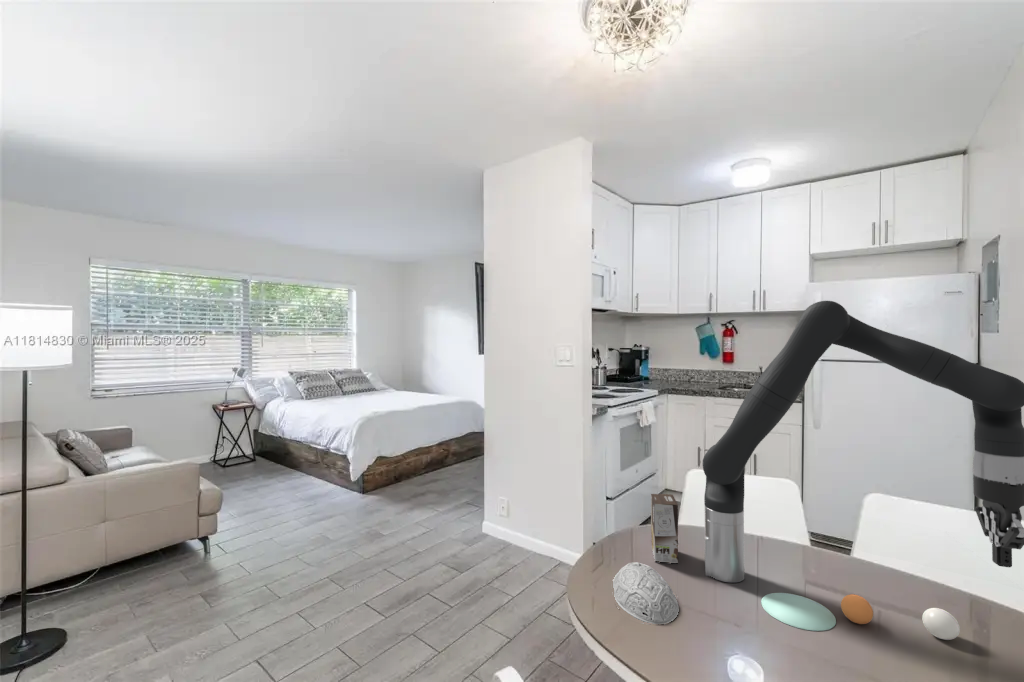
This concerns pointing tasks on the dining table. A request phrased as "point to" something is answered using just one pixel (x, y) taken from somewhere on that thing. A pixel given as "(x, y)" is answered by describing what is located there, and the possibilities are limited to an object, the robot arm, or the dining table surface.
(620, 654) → the dining table surface
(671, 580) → the dining table surface
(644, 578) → the grey oval dome
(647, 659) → the dining table surface
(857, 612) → the orange ball
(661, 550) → the coffee box
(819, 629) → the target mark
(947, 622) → the cue ball
